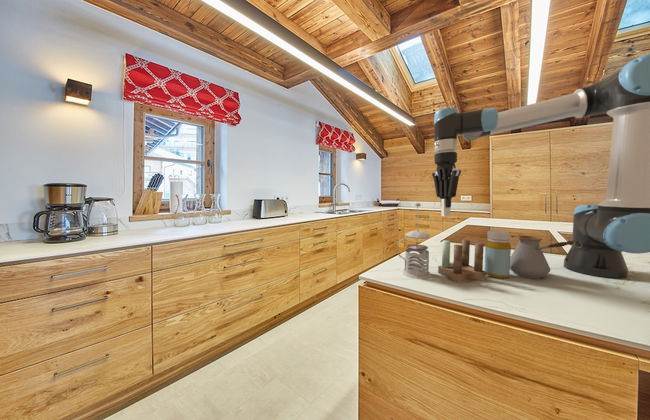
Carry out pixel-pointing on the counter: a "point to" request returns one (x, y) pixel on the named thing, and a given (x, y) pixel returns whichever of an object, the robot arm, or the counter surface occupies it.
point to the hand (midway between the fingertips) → (445, 216)
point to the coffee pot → (532, 257)
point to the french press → (416, 255)
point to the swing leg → (446, 254)
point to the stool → (465, 264)
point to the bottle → (497, 254)
